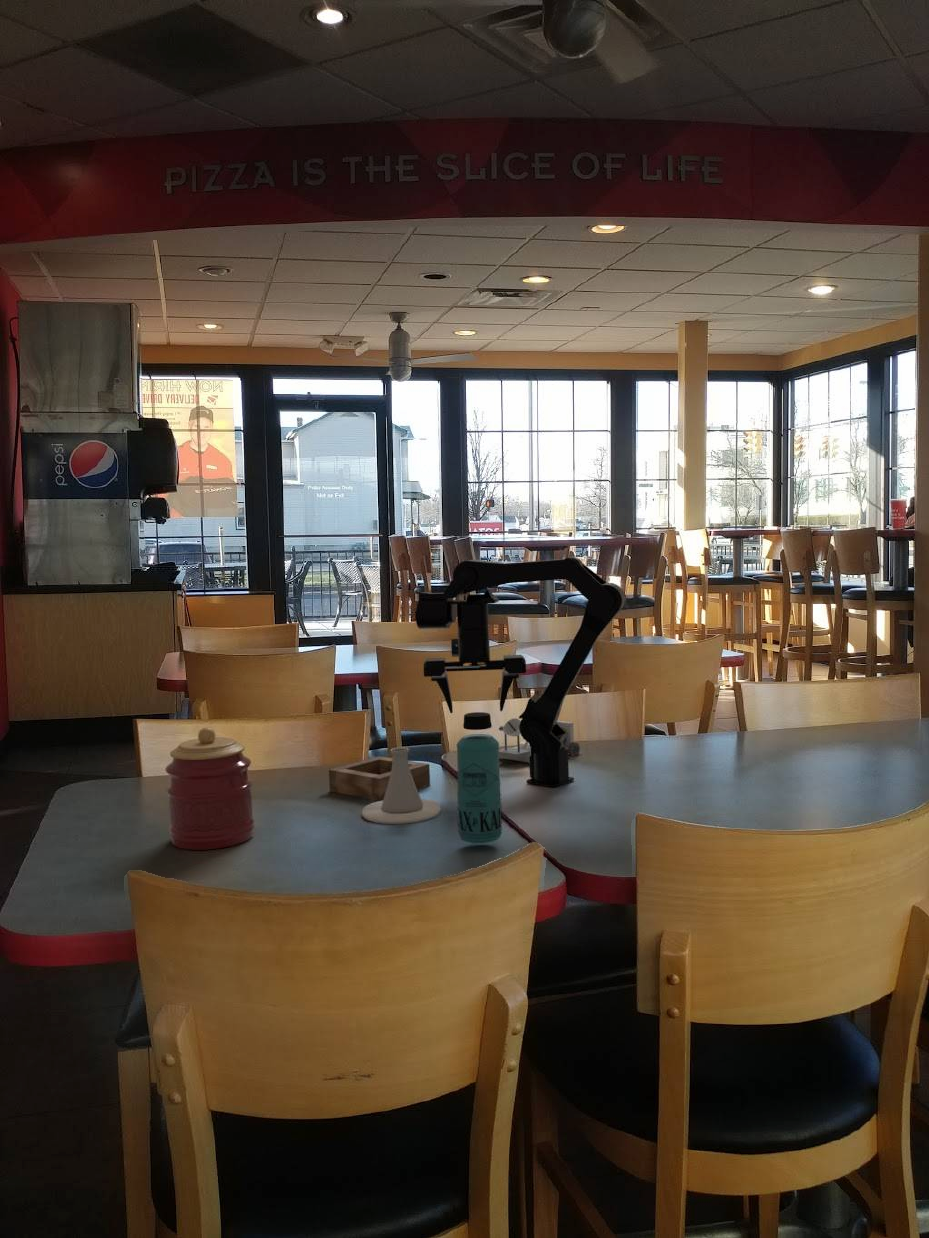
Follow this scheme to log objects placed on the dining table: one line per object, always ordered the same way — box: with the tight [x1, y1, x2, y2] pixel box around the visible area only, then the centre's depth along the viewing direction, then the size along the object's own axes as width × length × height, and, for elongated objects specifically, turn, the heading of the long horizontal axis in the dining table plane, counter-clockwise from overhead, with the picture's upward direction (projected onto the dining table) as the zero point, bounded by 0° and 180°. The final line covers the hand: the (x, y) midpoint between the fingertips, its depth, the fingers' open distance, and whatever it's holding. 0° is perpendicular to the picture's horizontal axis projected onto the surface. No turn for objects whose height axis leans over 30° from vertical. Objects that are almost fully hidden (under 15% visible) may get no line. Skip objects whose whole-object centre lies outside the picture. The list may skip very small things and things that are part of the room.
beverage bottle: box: [456, 711, 503, 844], centre depth 152 cm, size 6×7×20 cm
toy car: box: [498, 718, 581, 763], centre depth 210 cm, size 18×10×12 cm
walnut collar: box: [328, 755, 431, 802], centre depth 190 cm, size 13×13×4 cm
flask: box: [381, 747, 423, 813], centre depth 173 cm, size 7×7×10 cm
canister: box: [165, 727, 255, 851], centre depth 162 cm, size 13×13×18 cm
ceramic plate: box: [361, 798, 441, 825], centre depth 173 cm, size 13×13×1 cm
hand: (476, 711), depth 192 cm, fingers open, 9 cm apart
